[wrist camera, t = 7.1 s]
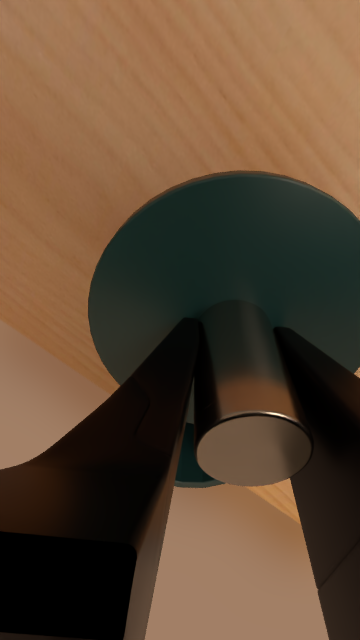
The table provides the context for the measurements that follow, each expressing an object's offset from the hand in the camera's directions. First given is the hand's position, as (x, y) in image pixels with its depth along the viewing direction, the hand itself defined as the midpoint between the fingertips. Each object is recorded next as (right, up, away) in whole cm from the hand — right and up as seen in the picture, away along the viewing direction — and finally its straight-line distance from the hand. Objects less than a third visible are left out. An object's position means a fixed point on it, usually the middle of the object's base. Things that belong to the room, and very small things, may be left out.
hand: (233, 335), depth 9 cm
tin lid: (0, 0, +1) cm, 1 cm away
